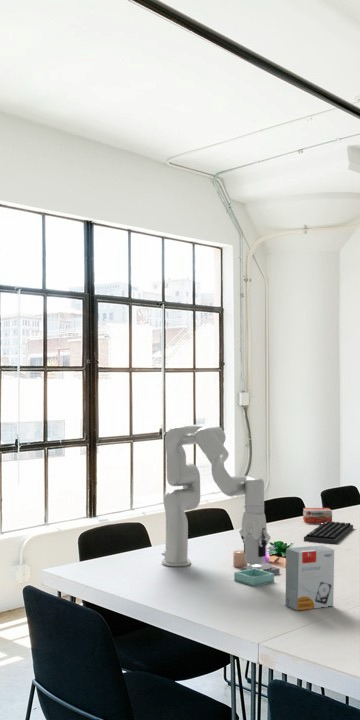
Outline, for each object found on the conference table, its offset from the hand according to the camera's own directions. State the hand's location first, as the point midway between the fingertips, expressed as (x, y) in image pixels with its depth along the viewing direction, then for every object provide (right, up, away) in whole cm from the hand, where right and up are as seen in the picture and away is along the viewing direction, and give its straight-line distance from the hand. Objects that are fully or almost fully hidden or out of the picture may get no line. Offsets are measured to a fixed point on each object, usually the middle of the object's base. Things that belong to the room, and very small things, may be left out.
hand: (254, 554), depth 283 cm
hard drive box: (+16, -9, -32) cm, 37 cm away
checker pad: (+4, -9, +13) cm, 16 cm away
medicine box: (+49, -17, +128) cm, 138 cm away
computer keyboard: (+49, -16, +94) cm, 107 cm away
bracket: (+11, -13, +38) cm, 42 cm away
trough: (0, -10, 0) cm, 10 cm away
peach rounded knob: (-4, -11, +24) cm, 27 cm away
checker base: (+4, -11, +13) cm, 18 cm away
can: (0, -3, 0) cm, 3 cm away
